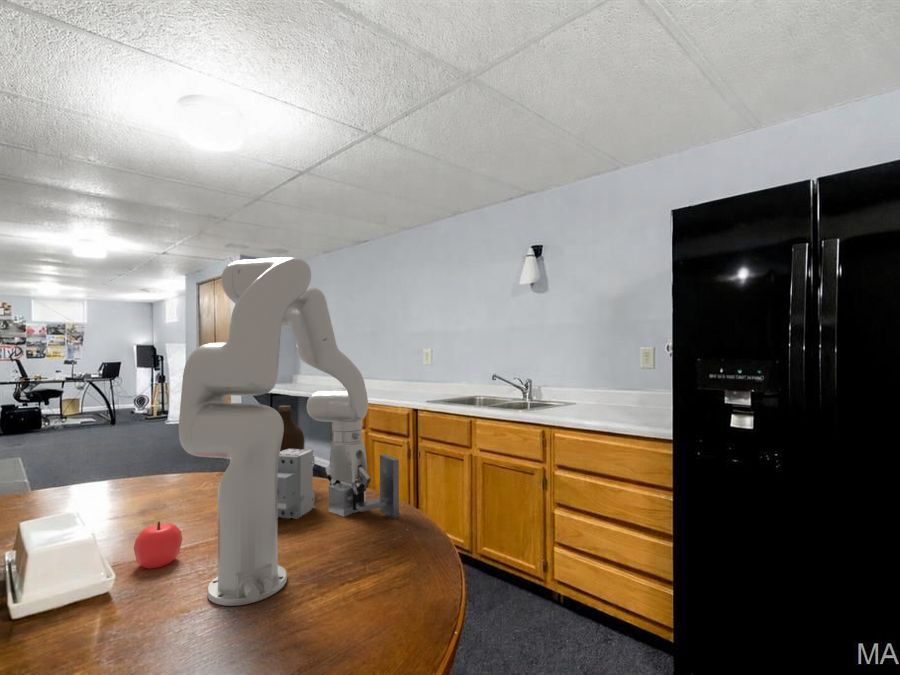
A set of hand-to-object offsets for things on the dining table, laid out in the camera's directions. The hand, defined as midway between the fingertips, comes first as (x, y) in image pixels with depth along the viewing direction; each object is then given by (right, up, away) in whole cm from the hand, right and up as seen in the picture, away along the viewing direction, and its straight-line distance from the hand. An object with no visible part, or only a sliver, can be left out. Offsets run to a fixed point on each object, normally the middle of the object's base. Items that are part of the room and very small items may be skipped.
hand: (347, 504), depth 116 cm
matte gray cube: (0, -1, 0) cm, 1 cm away
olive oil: (-21, -2, +13) cm, 25 cm away
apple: (-30, -1, -28) cm, 41 cm away
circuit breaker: (-14, -2, -4) cm, 15 cm away
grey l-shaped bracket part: (+8, -1, -5) cm, 10 cm away
